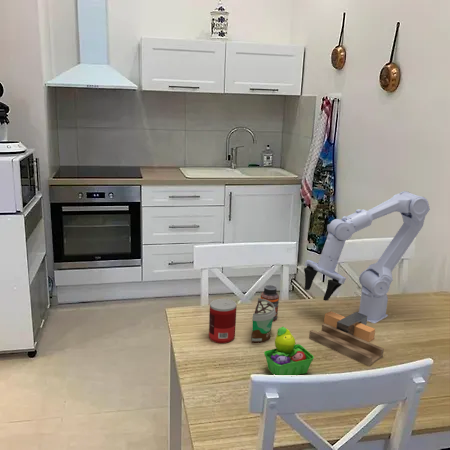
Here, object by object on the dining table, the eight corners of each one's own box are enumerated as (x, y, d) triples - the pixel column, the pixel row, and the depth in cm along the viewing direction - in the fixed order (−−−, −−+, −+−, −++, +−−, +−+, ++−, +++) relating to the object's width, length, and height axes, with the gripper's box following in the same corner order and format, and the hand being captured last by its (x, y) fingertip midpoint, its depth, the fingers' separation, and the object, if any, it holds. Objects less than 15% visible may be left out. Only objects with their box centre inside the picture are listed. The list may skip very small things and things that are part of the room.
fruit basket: (275, 383, 118) (279, 343, 115) (259, 365, 125) (262, 327, 123) (313, 375, 122) (317, 336, 119) (295, 358, 130) (298, 321, 127)
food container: (271, 348, 135) (274, 316, 132) (250, 345, 136) (252, 314, 133) (275, 328, 146) (278, 299, 144) (256, 326, 147) (258, 297, 145)
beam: (354, 325, 151) (356, 311, 149) (365, 330, 148) (367, 316, 147) (335, 336, 143) (337, 321, 142) (346, 341, 140) (348, 326, 139)
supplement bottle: (267, 325, 149) (269, 292, 146) (255, 318, 153) (257, 286, 150) (280, 320, 152) (283, 288, 149) (268, 313, 157) (270, 282, 154)
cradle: (308, 339, 140) (309, 330, 140) (323, 332, 145) (324, 323, 145) (368, 367, 126) (370, 357, 126) (382, 358, 132) (383, 348, 131)
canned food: (240, 337, 140) (241, 303, 137) (222, 346, 134) (223, 311, 132) (221, 328, 145) (223, 296, 142) (203, 337, 139) (204, 303, 137)
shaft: (323, 322, 150) (324, 313, 150) (329, 320, 153) (330, 311, 152) (368, 341, 139) (369, 332, 139) (374, 338, 142) (375, 329, 141)
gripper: (305, 247, 150) (291, 285, 152) (343, 265, 140) (328, 305, 143) (317, 247, 155) (303, 284, 158) (354, 265, 145) (339, 304, 148)
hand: (316, 294), depth 151 cm, fingers open, 7 cm apart
